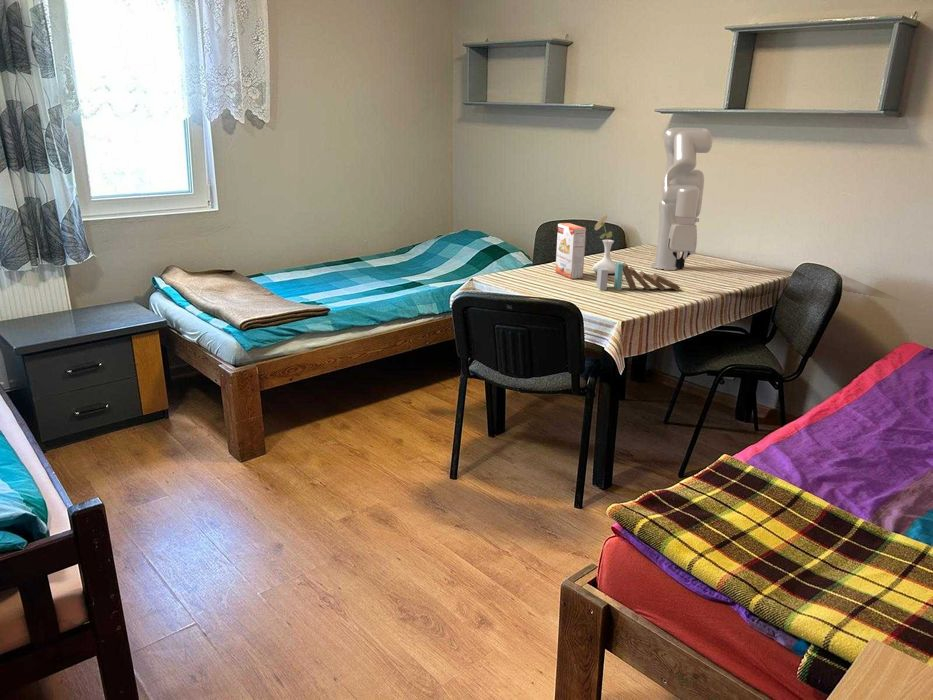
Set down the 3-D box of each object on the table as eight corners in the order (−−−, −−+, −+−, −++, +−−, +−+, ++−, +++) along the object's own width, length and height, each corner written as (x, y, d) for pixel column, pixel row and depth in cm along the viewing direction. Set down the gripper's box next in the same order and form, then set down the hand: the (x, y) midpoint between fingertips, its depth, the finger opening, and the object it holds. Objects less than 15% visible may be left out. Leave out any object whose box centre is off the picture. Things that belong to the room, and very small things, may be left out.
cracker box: (554, 272, 303) (557, 223, 296) (567, 271, 305) (570, 222, 298) (570, 279, 291) (573, 228, 284) (583, 278, 293) (587, 227, 286)
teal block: (618, 287, 280) (620, 261, 276) (621, 290, 275) (623, 264, 272) (613, 286, 280) (615, 261, 276) (616, 289, 275) (618, 264, 272)
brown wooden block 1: (632, 290, 275) (623, 267, 272) (629, 287, 279) (620, 264, 277) (636, 288, 275) (627, 265, 272) (633, 285, 279) (624, 262, 276)
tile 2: (662, 290, 275) (641, 277, 273) (658, 287, 280) (638, 274, 278) (665, 286, 274) (644, 273, 273) (661, 284, 279) (641, 270, 277)
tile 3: (647, 290, 275) (630, 272, 272) (644, 287, 280) (627, 269, 277) (650, 287, 274) (633, 269, 272) (647, 284, 279) (630, 266, 277)
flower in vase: (605, 269, 312) (610, 211, 304) (624, 274, 303) (630, 214, 295) (583, 272, 305) (587, 213, 297) (602, 277, 296) (607, 216, 288)
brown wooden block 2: (677, 291, 275) (655, 280, 274) (674, 288, 280) (651, 277, 278) (680, 287, 274) (657, 276, 273) (676, 284, 279) (654, 273, 278)
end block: (596, 285, 281) (597, 265, 278) (602, 285, 281) (604, 265, 278) (599, 290, 273) (601, 270, 271) (606, 290, 273) (608, 270, 271)
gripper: (701, 220, 273) (695, 267, 278) (662, 219, 272) (657, 266, 278) (707, 222, 265) (701, 271, 271) (667, 222, 265) (662, 270, 271)
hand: (679, 268), depth 275 cm, fingers closed
